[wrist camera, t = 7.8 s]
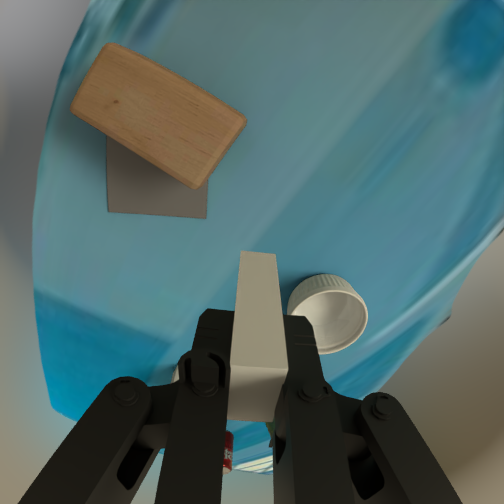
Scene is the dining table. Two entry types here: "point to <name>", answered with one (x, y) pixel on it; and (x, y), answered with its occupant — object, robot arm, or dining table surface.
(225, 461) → the soda can
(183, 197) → the mat
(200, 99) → the wooden block
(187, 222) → the dining table surface
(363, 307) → the ramekin
